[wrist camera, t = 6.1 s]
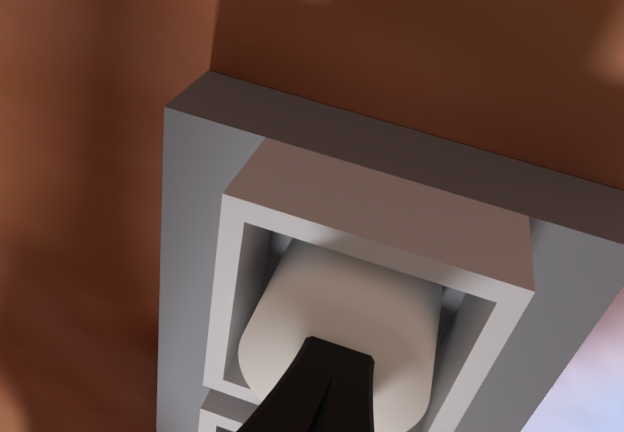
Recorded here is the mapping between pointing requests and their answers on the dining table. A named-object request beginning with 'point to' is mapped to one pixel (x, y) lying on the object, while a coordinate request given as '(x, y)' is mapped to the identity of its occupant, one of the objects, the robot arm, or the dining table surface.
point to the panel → (372, 249)
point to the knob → (348, 326)
